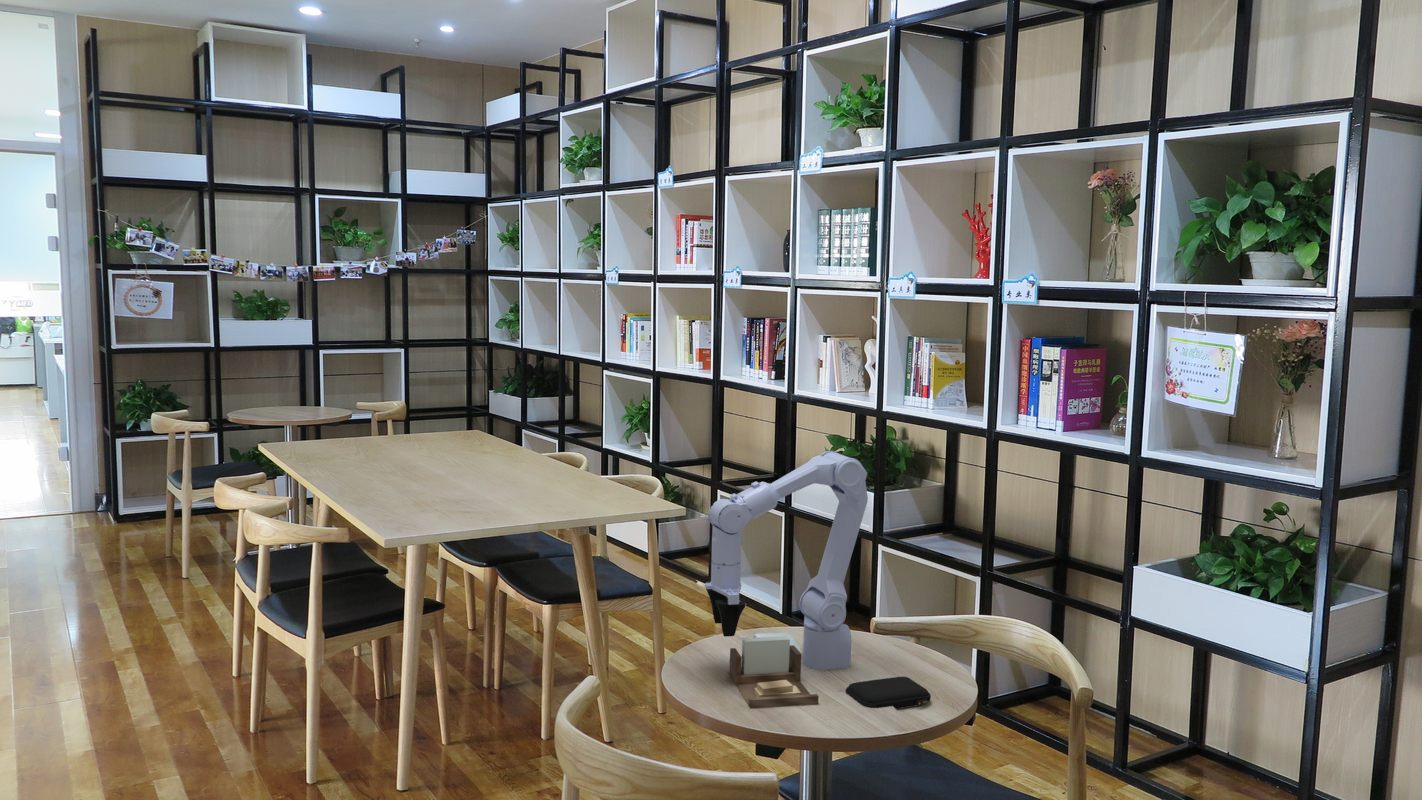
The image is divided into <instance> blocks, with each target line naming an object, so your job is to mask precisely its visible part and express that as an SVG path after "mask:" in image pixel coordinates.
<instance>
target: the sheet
mask: <svg viewBox="0 0 1422 800" xmlns="http://www.w3.org/2000/svg"><path fill="white" fill-rule="evenodd" d="M789 650H790V639H789V638H788V637H787V636H778V637H756V638H754V637H743V638H742V643H741V657H742V658H741V675H748V674H767V673H785V672H789Z"/></svg>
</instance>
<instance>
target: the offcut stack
mask: <svg viewBox="0 0 1422 800" xmlns="http://www.w3.org/2000/svg"><path fill="white" fill-rule="evenodd" d="M754 694H755V696H756V697H757V698H758V697H775V696H792V695H801V692H800V691H799V689H798V688H797V687H796V686H793V685H792V684H791V683H789V682H788V681H787V680H779V681H770V682H762V683H757V688H755V693H754Z"/></svg>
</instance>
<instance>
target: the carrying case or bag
mask: <svg viewBox="0 0 1422 800" xmlns="http://www.w3.org/2000/svg"><path fill="white" fill-rule="evenodd" d="M845 694H846V695H848V696H849V697H850V698H852V699H853V700H854V701H856V702H857V703H859V704H860V705H861V706H863V707H864V708H870V709H880V708H886V707H887V708H888V707H893V708H894V709H895V710H896V709H902V707H903V708H909V706H910V707H915V705H917V706H916V707H920V706H922V704H923V705H926V704H928V702H930V700H931V698H932V695H931V693H930V692H929V691H928V689H926V687H923V686H922V685H921V684H919V683H917V682H916V681H915V680H913V679H911V678H910V677H908V676H895V677H886V678H880V679H879V678H878V679H873V680H864V681H858V682H851V683H850V684H849V685H848V686H847V687H846V689H845ZM925 703H926V704H925Z"/></svg>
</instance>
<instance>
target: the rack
mask: <svg viewBox="0 0 1422 800" xmlns="http://www.w3.org/2000/svg"><path fill="white" fill-rule="evenodd" d="M729 649H730V651H729V671H726V672H727V675H728V676H729V678H730V679H731V681H732V682H733V685H734V686H735V687H736V689H737V690H738V692H739V693H740V695H741V696H742V698H743V699H744V701H745V703H746V704H747V706H748V707H749V709H760V708H762V709H763V708H778V707H797V706H811V705H812V706H814V705H819V697H820V696H819V695H818V694H817V693H815V694H814V693H810V692H809V691H808V689H807V688H806V686H805V685H804V684H803V683H802V682H801V675H802V674H801V673H802V656H803V653H802V652H799V651H798V649H797V648H796V647H795V646H794V645H790V650H789V672H785V673H767V674H748V675H741V666H742V655H741V654H740V653H739V651H738V650H737V648H735V647H730V648H729ZM779 680H787V681H788V682H789V683H791V684H792V685H793V686H796V687H797V688H798V689H799V691H800V692H801V695H792V696H775V697H758V698H757V697H756V696H755V694H754V693H755V688H757V683H762V682H770V681H779Z"/></svg>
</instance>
